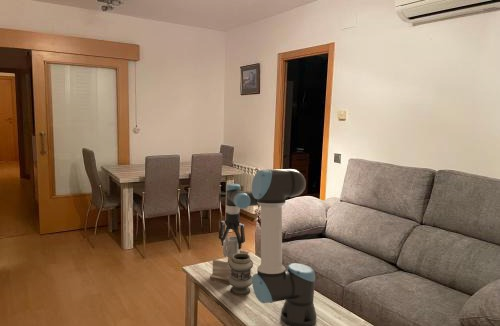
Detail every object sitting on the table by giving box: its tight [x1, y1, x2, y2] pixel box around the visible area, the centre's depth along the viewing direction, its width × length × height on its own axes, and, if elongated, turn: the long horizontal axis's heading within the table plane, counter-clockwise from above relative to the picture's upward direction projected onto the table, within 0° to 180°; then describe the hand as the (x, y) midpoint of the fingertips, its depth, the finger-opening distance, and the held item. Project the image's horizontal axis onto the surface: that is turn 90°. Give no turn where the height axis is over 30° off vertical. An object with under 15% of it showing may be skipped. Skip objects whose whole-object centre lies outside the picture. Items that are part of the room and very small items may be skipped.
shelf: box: [209, 249, 249, 285], centre depth 195 cm, size 26×12×10 cm, turn 159°
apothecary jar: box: [229, 253, 254, 297], centre depth 174 cm, size 12×12×18 cm
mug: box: [222, 235, 238, 258], centre depth 193 cm, size 8×12×12 cm, turn 142°
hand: (231, 252), depth 194 cm, fingers closed on mug, 7 cm apart
